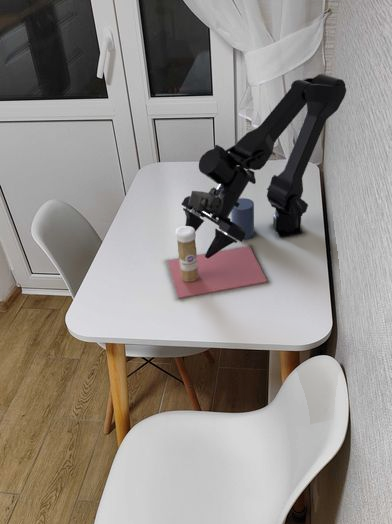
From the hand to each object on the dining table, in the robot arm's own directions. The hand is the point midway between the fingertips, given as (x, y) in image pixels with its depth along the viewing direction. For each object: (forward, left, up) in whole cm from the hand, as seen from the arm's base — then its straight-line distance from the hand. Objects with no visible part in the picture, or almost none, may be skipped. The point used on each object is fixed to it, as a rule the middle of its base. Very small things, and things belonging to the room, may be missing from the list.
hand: (194, 249), depth 129 cm
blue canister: (-16, -15, -8) cm, 23 cm away
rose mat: (-5, 0, -8) cm, 9 cm away
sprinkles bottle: (+2, +1, -7) cm, 8 cm away
